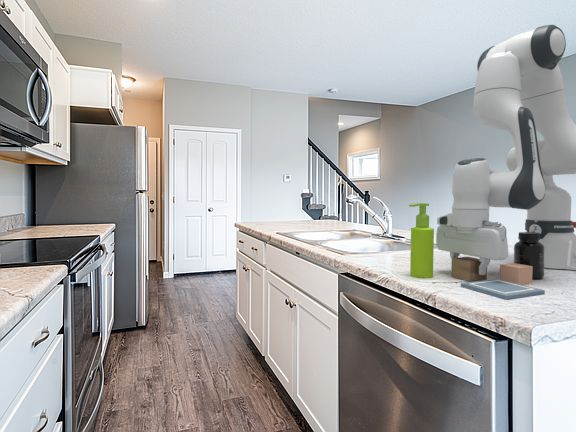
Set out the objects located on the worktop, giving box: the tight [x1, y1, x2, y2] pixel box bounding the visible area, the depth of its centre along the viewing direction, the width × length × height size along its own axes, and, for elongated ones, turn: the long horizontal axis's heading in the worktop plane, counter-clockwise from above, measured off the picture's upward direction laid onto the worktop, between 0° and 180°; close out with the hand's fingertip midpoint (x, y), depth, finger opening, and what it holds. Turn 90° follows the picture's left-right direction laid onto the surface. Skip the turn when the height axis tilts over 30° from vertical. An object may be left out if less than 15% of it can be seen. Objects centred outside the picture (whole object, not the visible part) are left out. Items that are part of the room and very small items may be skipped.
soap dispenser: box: [408, 202, 435, 279], centre depth 99 cm, size 6×7×20 cm
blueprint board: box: [460, 278, 546, 301], centre depth 85 cm, size 12×12×1 cm
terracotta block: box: [499, 262, 533, 286], centre depth 92 cm, size 5×5×4 cm
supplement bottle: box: [513, 231, 545, 280], centre depth 98 cm, size 7×7×12 cm
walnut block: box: [450, 256, 488, 282], centre depth 97 cm, size 6×6×5 cm
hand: (468, 271), depth 97 cm, fingers closed on walnut block, 6 cm apart
